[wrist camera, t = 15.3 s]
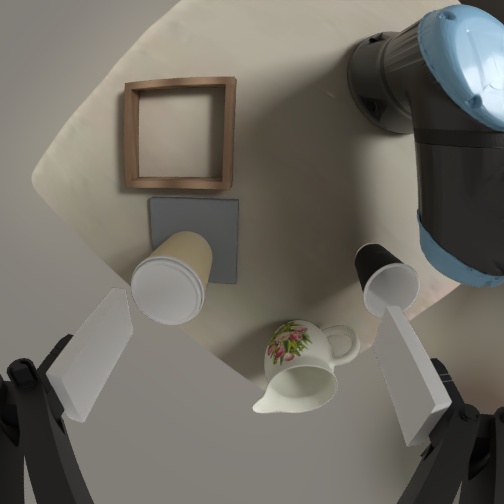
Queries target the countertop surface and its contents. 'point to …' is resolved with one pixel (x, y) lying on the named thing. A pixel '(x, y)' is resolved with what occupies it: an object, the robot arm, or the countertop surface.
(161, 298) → the coffee cup
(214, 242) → the rubber mat
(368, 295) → the dixie cup
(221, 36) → the countertop surface
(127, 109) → the cup holder
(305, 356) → the pitcher
